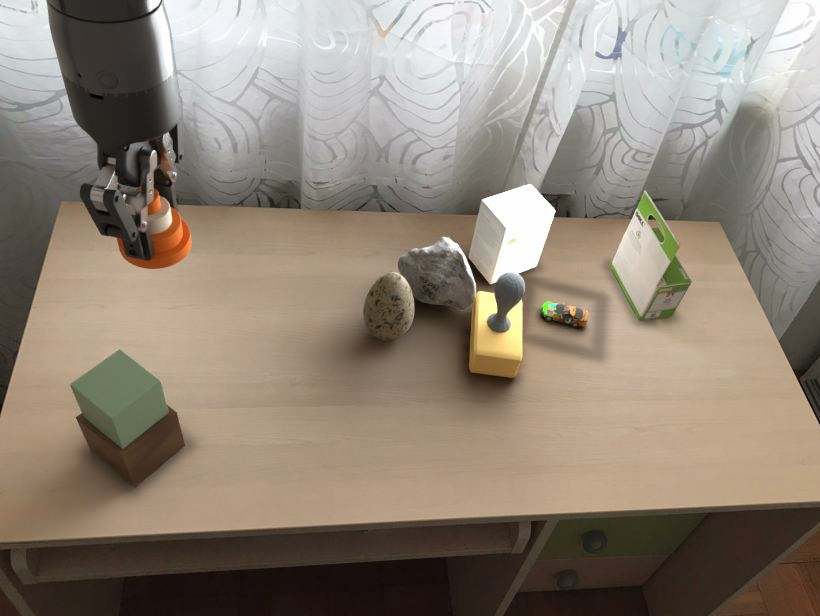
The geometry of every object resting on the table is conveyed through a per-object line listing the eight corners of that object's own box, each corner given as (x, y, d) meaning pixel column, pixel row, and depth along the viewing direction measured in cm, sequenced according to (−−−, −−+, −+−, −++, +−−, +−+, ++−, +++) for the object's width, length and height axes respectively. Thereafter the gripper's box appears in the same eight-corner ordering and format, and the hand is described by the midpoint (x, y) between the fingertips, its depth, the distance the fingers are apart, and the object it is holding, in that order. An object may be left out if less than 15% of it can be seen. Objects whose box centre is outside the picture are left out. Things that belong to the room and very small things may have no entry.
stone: (398, 321, 92) (406, 265, 84) (392, 280, 96) (399, 223, 88) (471, 319, 94) (486, 264, 86) (462, 279, 98) (476, 223, 90)
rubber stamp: (471, 309, 95) (489, 241, 86) (516, 315, 96) (538, 249, 86) (468, 371, 89) (487, 306, 80) (516, 378, 89) (540, 314, 80)
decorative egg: (377, 305, 93) (384, 248, 85) (419, 327, 92) (429, 271, 84) (351, 336, 89) (356, 280, 82) (394, 359, 88) (403, 304, 80)
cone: (152, 279, 64) (142, 230, 59) (103, 244, 65) (89, 193, 61) (206, 244, 67) (199, 194, 63) (158, 211, 69) (149, 161, 64)
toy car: (541, 304, 97) (544, 295, 96) (586, 315, 98) (590, 306, 96) (539, 319, 96) (542, 310, 94) (584, 330, 96) (588, 321, 94)
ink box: (672, 318, 100) (717, 243, 89) (638, 323, 98) (679, 247, 87) (641, 262, 106) (679, 185, 95) (607, 266, 104) (642, 188, 93)
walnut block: (134, 488, 74) (122, 456, 69) (90, 451, 75) (75, 417, 70) (185, 445, 77) (177, 412, 72) (142, 410, 79) (131, 375, 74)
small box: (514, 241, 104) (531, 182, 96) (537, 267, 102) (557, 209, 93) (466, 257, 101) (480, 198, 92) (489, 285, 98) (505, 227, 90)
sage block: (122, 449, 69) (111, 418, 65) (83, 416, 70) (69, 384, 66) (169, 412, 72) (160, 380, 68) (130, 381, 73) (120, 348, 69)
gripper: (107, -3, 56) (143, 174, 70) (10, 102, 47) (72, 284, 60) (206, 20, 57) (223, 192, 70) (129, 129, 48) (164, 303, 61)
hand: (153, 234), depth 65 cm, fingers closed on cone, 5 cm apart
